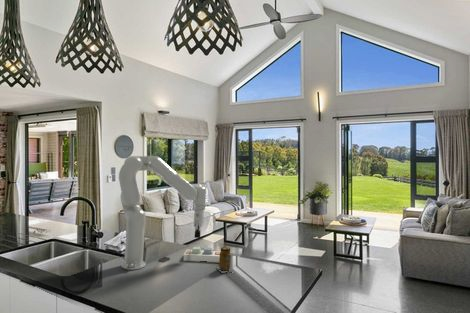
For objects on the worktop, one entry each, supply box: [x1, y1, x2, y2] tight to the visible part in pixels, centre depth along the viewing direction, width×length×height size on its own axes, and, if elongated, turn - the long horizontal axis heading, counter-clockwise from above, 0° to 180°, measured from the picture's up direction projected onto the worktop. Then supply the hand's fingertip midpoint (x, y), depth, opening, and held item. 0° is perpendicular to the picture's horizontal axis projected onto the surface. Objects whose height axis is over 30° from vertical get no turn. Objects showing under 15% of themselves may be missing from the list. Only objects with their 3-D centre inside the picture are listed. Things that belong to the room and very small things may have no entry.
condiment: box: [218, 246, 234, 274], centre depth 162 cm, size 7×8×12 cm
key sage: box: [191, 246, 202, 254], centre depth 179 cm, size 4×4×4 cm
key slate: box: [203, 246, 213, 255], centre depth 179 cm, size 4×4×4 cm
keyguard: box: [183, 248, 221, 263], centre depth 179 cm, size 10×25×4 cm, turn 90°
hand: (197, 237), depth 179 cm, fingers closed
